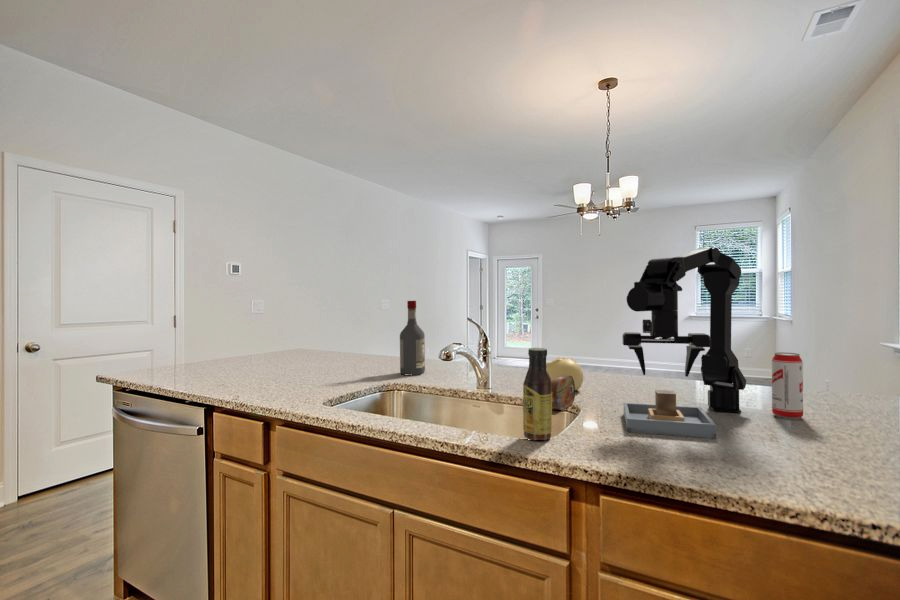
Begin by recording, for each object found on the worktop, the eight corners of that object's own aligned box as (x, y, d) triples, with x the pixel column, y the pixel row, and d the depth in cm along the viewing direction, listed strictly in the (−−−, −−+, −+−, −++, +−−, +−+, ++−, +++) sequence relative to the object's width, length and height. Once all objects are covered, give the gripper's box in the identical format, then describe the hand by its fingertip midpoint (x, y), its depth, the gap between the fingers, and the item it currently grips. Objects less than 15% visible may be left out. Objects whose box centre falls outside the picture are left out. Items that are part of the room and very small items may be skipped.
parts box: (700, 419, 112) (700, 407, 112) (716, 438, 97) (716, 424, 97) (623, 414, 118) (623, 402, 118) (627, 431, 103) (627, 418, 103)
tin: (558, 413, 120) (558, 382, 119) (547, 412, 121) (546, 381, 121) (576, 402, 132) (576, 373, 132) (565, 400, 134) (565, 372, 134)
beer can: (797, 414, 115) (796, 352, 115) (807, 421, 109) (807, 355, 109) (768, 412, 117) (768, 351, 117) (777, 419, 111) (776, 354, 111)
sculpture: (569, 385, 156) (568, 354, 156) (590, 392, 145) (589, 359, 145) (540, 388, 153) (539, 356, 153) (559, 395, 141) (559, 361, 141)
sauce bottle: (520, 434, 102) (519, 347, 102) (547, 432, 103) (546, 346, 103) (527, 443, 96) (526, 350, 95) (556, 442, 96) (555, 349, 96)
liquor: (399, 375, 181) (397, 301, 181) (405, 371, 190) (403, 300, 190) (421, 375, 179) (419, 300, 179) (426, 371, 188) (424, 300, 188)
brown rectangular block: (673, 419, 109) (673, 390, 109) (676, 424, 105) (676, 394, 105) (655, 418, 110) (655, 389, 110) (657, 422, 106) (657, 393, 106)
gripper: (701, 309, 112) (701, 371, 112) (621, 309, 118) (621, 368, 118) (711, 310, 101) (712, 379, 101) (623, 311, 107) (623, 376, 107)
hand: (665, 375), depth 107 cm, fingers open, 9 cm apart
